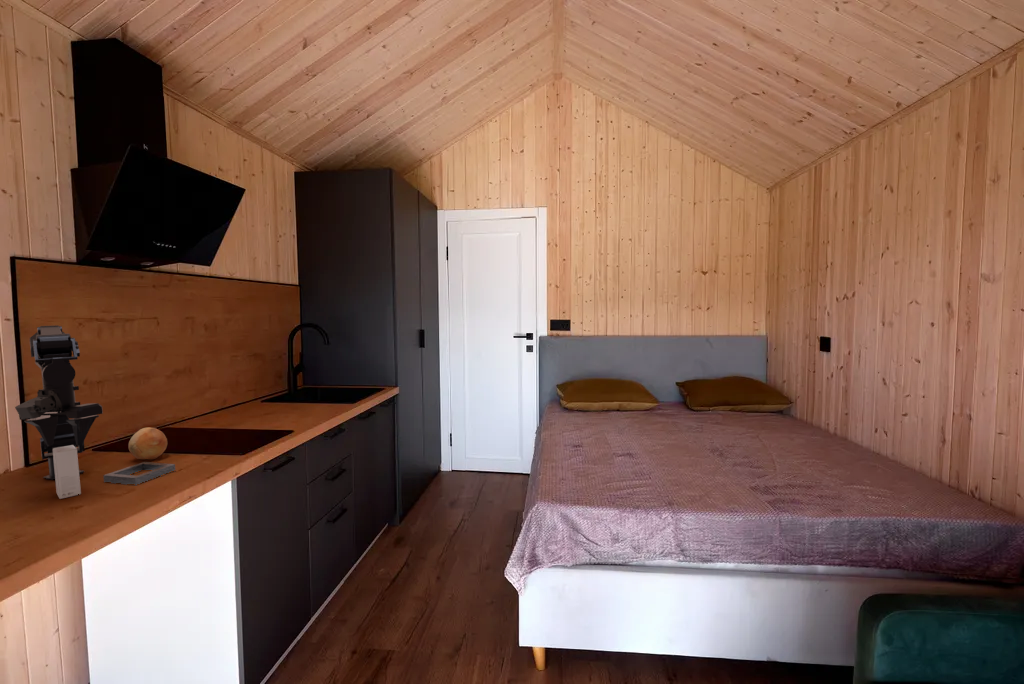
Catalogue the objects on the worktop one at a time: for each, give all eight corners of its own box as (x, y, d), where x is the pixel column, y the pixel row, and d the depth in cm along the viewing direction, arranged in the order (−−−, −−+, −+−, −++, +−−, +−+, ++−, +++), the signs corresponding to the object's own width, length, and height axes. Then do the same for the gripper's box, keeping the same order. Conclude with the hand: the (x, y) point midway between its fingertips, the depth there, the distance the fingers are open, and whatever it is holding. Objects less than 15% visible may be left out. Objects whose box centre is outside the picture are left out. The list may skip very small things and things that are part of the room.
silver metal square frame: (103, 482, 134) (103, 475, 133) (144, 468, 145) (144, 461, 144) (136, 485, 131) (135, 478, 130) (175, 470, 142) (174, 464, 141)
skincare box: (81, 494, 125) (77, 448, 124) (59, 499, 122) (54, 452, 121) (78, 488, 129) (73, 444, 128) (56, 493, 126) (51, 448, 125)
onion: (121, 464, 149) (118, 432, 148) (147, 454, 159) (144, 424, 158) (151, 464, 148) (148, 432, 147) (175, 454, 158) (173, 423, 157)
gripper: (-11, 389, 117) (-4, 454, 118) (53, 387, 114) (60, 453, 114) (42, 383, 128) (48, 442, 129) (101, 381, 125) (107, 441, 125)
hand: (64, 445), depth 124 cm, fingers open, 9 cm apart
